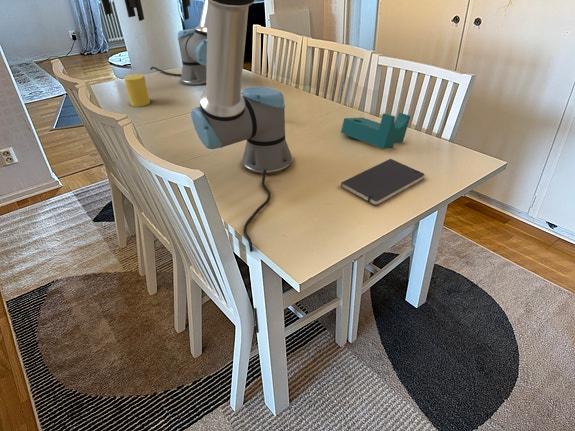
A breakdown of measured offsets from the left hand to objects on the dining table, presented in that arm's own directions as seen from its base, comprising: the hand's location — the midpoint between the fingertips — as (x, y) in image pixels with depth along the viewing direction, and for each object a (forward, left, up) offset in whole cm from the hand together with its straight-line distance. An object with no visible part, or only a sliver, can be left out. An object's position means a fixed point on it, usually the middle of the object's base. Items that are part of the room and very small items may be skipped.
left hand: (120, 15), depth 153 cm
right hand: (+45, -10, +4) cm, 46 cm away
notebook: (+114, +8, -34) cm, 119 cm away
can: (0, 0, -34) cm, 34 cm away
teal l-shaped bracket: (+96, +31, -34) cm, 106 cm away
